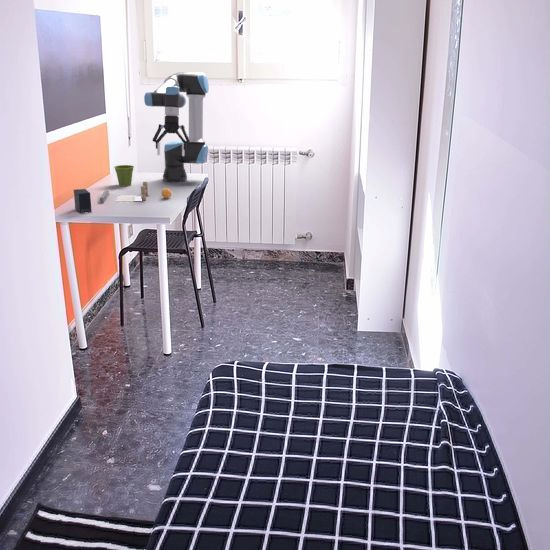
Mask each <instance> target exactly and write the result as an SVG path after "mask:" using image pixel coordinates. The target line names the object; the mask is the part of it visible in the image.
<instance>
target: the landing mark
mask: <svg viewBox="0 0 550 550" xmlns="http://www.w3.org/2000/svg"><path fill="white" fill-rule="evenodd" d="M135 197H138V196H136V195H135V194H134V195H131V194H130V195H118V197H117V198H116V200H115V202H116V203H133V201H135Z"/></svg>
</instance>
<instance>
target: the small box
mask: <svg viewBox="0 0 550 550" xmlns="http://www.w3.org/2000/svg"><path fill="white" fill-rule="evenodd" d="M73 198H74V210H75V211H77V212H78V214H86V213H85V212H88V213H92V200H91V192H90V191H89V190H87V189H86V188H80V189H77V188H76V189H73Z"/></svg>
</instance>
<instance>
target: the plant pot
mask: <svg viewBox="0 0 550 550" xmlns="http://www.w3.org/2000/svg"><path fill="white" fill-rule="evenodd" d="M134 168H135V166H134V165H131V164H122V165H121V164H119V165H115V166H113V169H115V173H116V177H117V182H118V185H119V186H120V187H128V186H132V181H133V172H134Z"/></svg>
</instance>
